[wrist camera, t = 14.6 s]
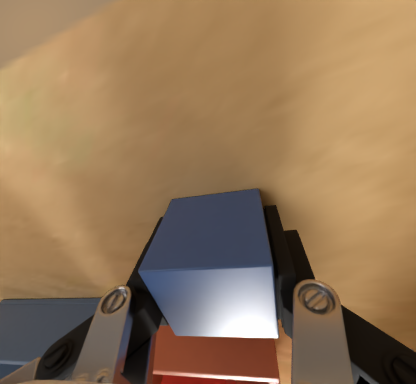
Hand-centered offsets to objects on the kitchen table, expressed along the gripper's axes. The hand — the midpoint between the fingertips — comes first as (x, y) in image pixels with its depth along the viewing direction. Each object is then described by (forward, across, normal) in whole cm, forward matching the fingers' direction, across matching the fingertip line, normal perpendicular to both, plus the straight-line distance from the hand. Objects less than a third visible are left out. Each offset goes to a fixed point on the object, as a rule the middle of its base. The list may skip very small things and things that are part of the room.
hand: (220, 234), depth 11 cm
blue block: (+1, 0, 0) cm, 1 cm away
